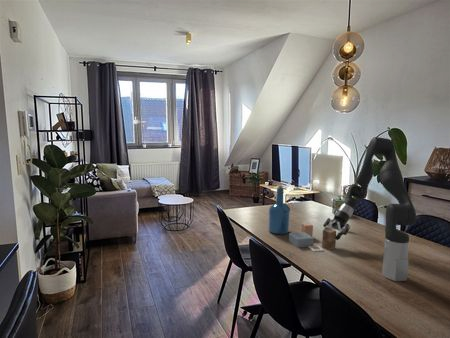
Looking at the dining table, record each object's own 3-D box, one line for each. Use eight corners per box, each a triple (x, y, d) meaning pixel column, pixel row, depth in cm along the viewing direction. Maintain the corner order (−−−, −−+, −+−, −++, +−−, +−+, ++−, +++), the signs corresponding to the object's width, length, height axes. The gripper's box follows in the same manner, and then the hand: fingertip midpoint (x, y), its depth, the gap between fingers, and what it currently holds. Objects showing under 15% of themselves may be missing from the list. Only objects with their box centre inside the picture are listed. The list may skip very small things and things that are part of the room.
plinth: (313, 246, 171) (313, 237, 170) (297, 248, 168) (297, 239, 167) (303, 240, 180) (304, 232, 180) (288, 241, 178) (289, 233, 177)
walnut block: (335, 248, 168) (336, 230, 166) (329, 250, 165) (330, 232, 164) (327, 245, 172) (328, 228, 170) (322, 247, 169) (323, 230, 168)
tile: (323, 250, 164) (323, 249, 164) (313, 251, 163) (313, 250, 163) (318, 246, 169) (318, 245, 169) (308, 247, 169) (308, 245, 168)
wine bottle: (264, 231, 194) (265, 185, 190) (275, 226, 203) (277, 183, 199) (282, 236, 184) (284, 188, 180) (293, 231, 194) (295, 185, 190)
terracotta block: (312, 238, 183) (312, 225, 182) (304, 238, 182) (305, 225, 181) (308, 235, 188) (309, 222, 187) (301, 235, 187) (301, 223, 186)
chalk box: (347, 216, 232) (349, 197, 230) (335, 215, 232) (336, 196, 230) (343, 212, 241) (344, 194, 239) (331, 212, 241) (332, 194, 239)
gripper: (330, 207, 177) (316, 229, 172) (352, 213, 165) (338, 237, 160) (335, 214, 180) (322, 236, 176) (357, 220, 169) (343, 244, 164)
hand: (329, 236), depth 168 cm, fingers open, 8 cm apart
